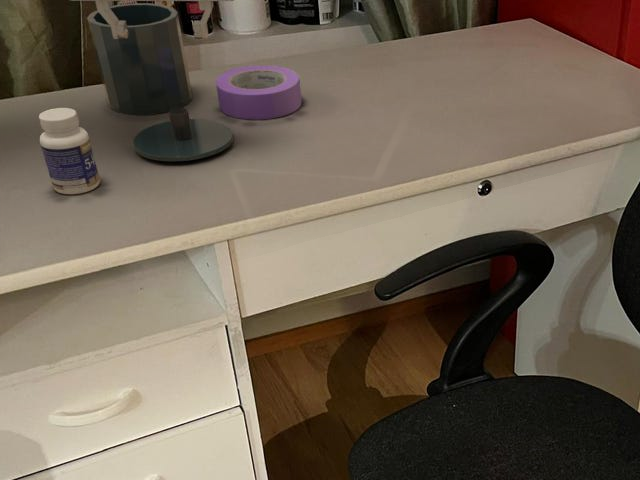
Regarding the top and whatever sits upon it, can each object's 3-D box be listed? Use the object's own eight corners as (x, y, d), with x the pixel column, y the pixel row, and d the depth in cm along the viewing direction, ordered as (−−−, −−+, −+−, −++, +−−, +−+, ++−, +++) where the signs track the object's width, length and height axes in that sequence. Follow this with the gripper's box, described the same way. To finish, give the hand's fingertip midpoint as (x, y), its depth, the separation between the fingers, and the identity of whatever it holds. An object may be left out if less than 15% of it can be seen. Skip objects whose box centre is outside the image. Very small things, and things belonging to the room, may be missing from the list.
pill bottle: (101, 191, 102) (82, 119, 97) (53, 198, 101) (32, 125, 95) (99, 173, 106) (81, 103, 101) (53, 179, 105) (32, 108, 99)
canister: (100, 116, 121) (79, 27, 113) (117, 87, 130) (97, 3, 123) (186, 113, 122) (170, 26, 115) (196, 85, 131) (182, 2, 124)
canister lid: (126, 167, 108) (117, 131, 105) (143, 128, 118) (136, 94, 115) (229, 164, 109) (223, 128, 106) (238, 125, 119) (233, 92, 116)
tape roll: (288, 122, 120) (285, 95, 118) (207, 117, 121) (203, 90, 119) (311, 93, 130) (308, 67, 127) (235, 88, 131) (232, 62, 128)
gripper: (236, -92, 101) (251, 29, 109) (51, -96, 98) (81, 30, 106) (231, -82, 96) (247, 45, 104) (36, -85, 93) (68, 46, 101)
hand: (161, 37), depth 105 cm, fingers open, 8 cm apart
